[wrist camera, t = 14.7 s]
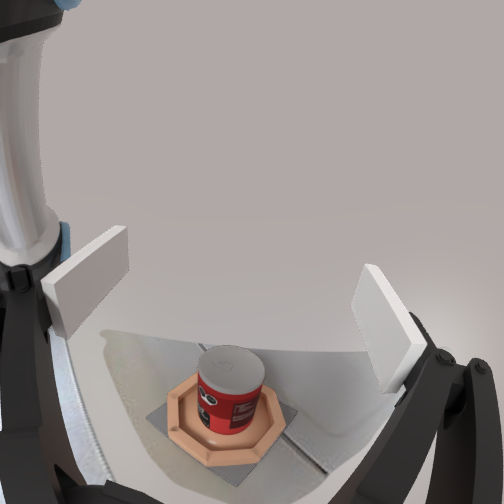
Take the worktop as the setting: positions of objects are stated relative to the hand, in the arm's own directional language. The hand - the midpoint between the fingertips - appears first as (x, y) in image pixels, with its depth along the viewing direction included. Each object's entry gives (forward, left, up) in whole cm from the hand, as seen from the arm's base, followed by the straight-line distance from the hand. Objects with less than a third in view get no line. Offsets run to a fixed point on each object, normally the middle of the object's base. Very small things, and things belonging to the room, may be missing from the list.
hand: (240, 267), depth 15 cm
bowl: (-5, +8, -30) cm, 32 cm away
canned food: (-5, +9, -29) cm, 31 cm away
